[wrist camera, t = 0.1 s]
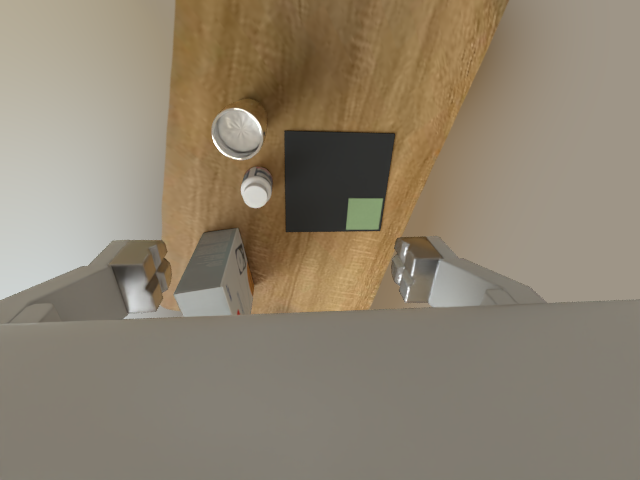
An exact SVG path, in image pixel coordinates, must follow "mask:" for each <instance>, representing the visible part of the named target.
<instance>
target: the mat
mask: <svg viewBox="0 0 640 480" xmlns="http://www.w3.org/2000/svg"><path fill="white" fill-rule="evenodd" d="M394 138H395V134H394V133H354V132H314V131H285V199H286V232H335V231H380V229H381V222H382V216H383V209H384V203H385V196H386V190H387V183H388V177H389V170H390V164H391V157H392V151H393V144H394Z"/></svg>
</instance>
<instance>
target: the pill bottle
mask: <svg viewBox="0 0 640 480" xmlns="http://www.w3.org/2000/svg"><path fill="white" fill-rule="evenodd" d="M271 193H272V176H271V174H270V173H269V171H267V170H266V169H265V168H262V167H253V168H251V169H249V170H248V171H247V172H246V173H245V176H244V179H243V182H242V185H241V194H242V197H243V199H244V202H245V203H246V204H247V205H248V206H250V207H252V208H260V207H262V206H264V205H265V203H266V202H267V201H268V200H269V199H270V197H271Z"/></svg>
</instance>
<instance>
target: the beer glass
mask: <svg viewBox="0 0 640 480" xmlns="http://www.w3.org/2000/svg"><path fill="white" fill-rule="evenodd" d="M266 124H267V115H266V111H265V109H264V108H263V106H262V105H261V104H260V103H259V102H257V101H256V100H253V99H249V98H245V99H241V100H239V101H237V102H234V103H231V104H229V105H227V106H225V107H224V108H223V109H222V110H221V111H220V112H219V114H218V115H217V116H216V118H215V119H214V122H213V124H212V138H213V141H214V144H215V145H216V147H217V148H218V150H219V151H220V152H221V153H222V154H224V155H225V156H227V157H229V158H231V159H234V160H246V159H249V158H251V157H253V156H255V155H256V154H257V153H258V152H259V150H260V149H261V147H262V145H263V143H264V141H265V138H266V133H267V126H266Z"/></svg>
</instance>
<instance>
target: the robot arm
mask: <svg viewBox="0 0 640 480" xmlns="http://www.w3.org/2000/svg"><path fill="white" fill-rule="evenodd" d="M394 249H395V250H396V252H397V254H396V255H395V256H394V257H393V258H392V265H391V273H392V277H393V280H394V282H395V283H396V284H398V285H399V286H400V288H399V292H400V294H401V296H402V298H403V300H404V302H405V303H429V304H430V305H431V306H432V307H429V308H403V309H379V310H351V311H326V312H300V313H274V314H248V315H222V316H196V317H171V318H146V319H145V318H144V319H123V318H124V317H125V316H127V315H128V314H129V313H145V312H156V311H157V309H158V307H159V305H160V303H161V301H162V299H163V296H162V293H163V292H164V291H166V290H168V288H169V286H170V283H171V277H172V272H171V265H170V263H169V262H168V261H167V260H166V259H165V258H164V257H165V255H166V253H167V249H166V245H165V243H164V242H163V241H162V240H116V241H112V242H111V243H110V244H109V245H108V246H107V247H106V248H105V249H104V250H103V251H102V252H101V253H100V254H99V255H98V256H97V257H96V258H95V259H94V260H93V261H92V262H91V263H90V264H89V265H88V266H82V267H79V268H77V269H74V270H72V271H70V272H67V273H65V274H62V275H60V276H58V277H55V278H53V279H50V280H48V281H46V282H44V283H41V284H38V285H36V286H34V287H31V288H29V289H27V290H24V291H22V292H19V293H17V294H14V295H12V296H10V297H7V298H5V299H3V300H0V480H640V300H613V301H588V302H561V303H547V302H546V301H545V300H544V299H542V298H541V297H540V296H539V295H538V294H537V293H536V292H535V291H534V290H533V289H532V288H530V287H529V286H526V285H524V284H522V283H519V282H517V281H515V280H512V279H510V278H508V277H505V276H503V275H501V274H498V273H496V272H494V271H492V270H489V269H487V268H484V267H482V266H480V265H478V264H475V263H473V262H471V261H468V260H466V259H464V258H458V257H457V256H456V254H455V253H454V252H453V251H452V250H451V249H450V248H449V247H448V246H447V245H446V244H445V242H444V241H443V240H442V239H441V238H440V237H438V236H430V237H400V238H397V240H396V242H395V247H394Z"/></svg>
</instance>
